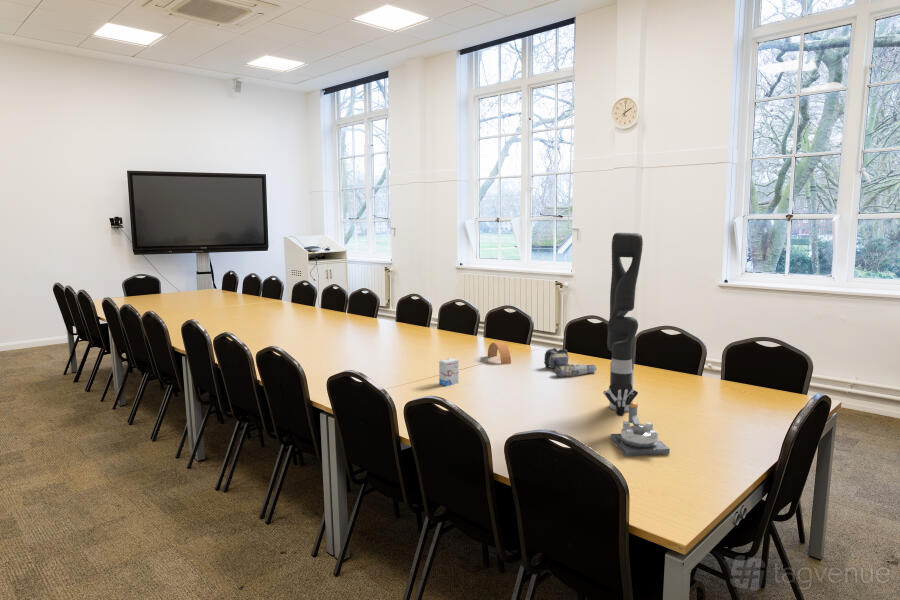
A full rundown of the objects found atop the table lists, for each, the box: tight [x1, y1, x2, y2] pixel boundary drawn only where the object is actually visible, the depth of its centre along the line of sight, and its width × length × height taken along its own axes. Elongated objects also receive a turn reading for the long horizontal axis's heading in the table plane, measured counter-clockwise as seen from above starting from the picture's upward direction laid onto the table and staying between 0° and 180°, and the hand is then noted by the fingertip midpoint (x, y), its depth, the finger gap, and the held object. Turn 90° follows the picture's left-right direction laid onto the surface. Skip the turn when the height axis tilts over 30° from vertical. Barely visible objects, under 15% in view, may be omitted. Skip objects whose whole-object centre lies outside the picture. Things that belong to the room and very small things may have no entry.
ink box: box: [438, 357, 460, 387], centre depth 280 cm, size 9×5×12 cm, turn 131°
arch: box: [487, 341, 512, 365], centre depth 325 cm, size 6×20×10 cm, turn 18°
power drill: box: [543, 347, 597, 378], centre depth 299 cm, size 22×23×11 cm
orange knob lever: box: [620, 401, 659, 447], centre depth 205 cm, size 23×12×8 cm, turn 171°
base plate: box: [610, 433, 671, 457], centre depth 201 cm, size 15×15×2 cm
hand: (619, 415), depth 215 cm, fingers closed
